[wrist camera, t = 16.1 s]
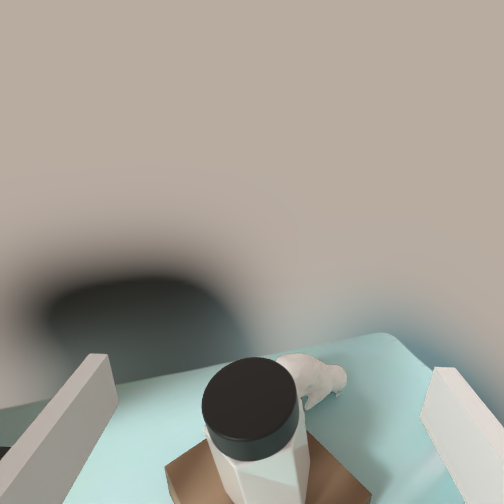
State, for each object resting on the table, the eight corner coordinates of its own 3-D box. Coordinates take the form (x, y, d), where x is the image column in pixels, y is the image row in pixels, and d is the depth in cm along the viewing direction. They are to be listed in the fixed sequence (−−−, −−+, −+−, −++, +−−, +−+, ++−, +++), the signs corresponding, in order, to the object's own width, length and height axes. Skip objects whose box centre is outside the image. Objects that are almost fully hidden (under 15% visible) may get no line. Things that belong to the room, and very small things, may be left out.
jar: (296, 425, 33) (284, 345, 28) (327, 508, 26) (317, 419, 21) (221, 449, 32) (195, 370, 27) (230, 543, 24) (196, 457, 20)
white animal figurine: (269, 347, 42) (337, 334, 46) (264, 393, 44) (329, 377, 48) (289, 378, 36) (364, 360, 40) (282, 428, 39) (353, 407, 43)
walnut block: (170, 496, 32) (164, 466, 30) (270, 421, 41) (270, 394, 39) (249, 682, 21) (247, 652, 19) (365, 525, 29) (371, 494, 28)
